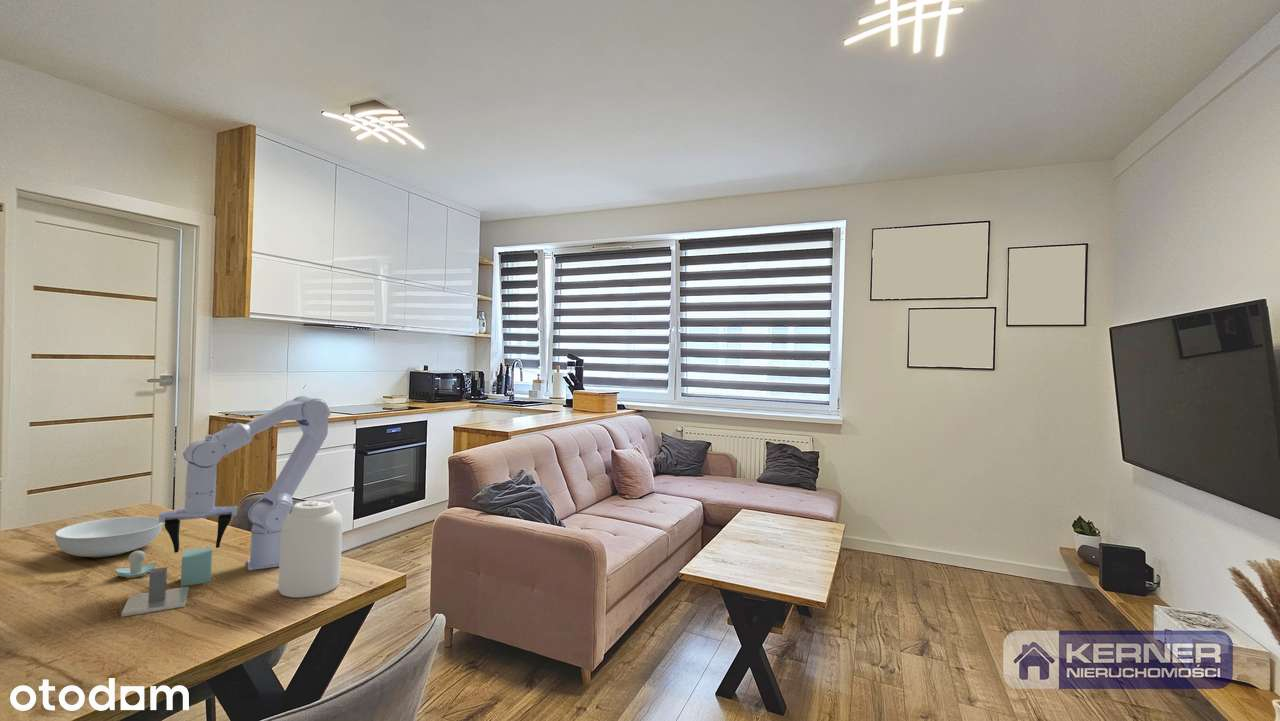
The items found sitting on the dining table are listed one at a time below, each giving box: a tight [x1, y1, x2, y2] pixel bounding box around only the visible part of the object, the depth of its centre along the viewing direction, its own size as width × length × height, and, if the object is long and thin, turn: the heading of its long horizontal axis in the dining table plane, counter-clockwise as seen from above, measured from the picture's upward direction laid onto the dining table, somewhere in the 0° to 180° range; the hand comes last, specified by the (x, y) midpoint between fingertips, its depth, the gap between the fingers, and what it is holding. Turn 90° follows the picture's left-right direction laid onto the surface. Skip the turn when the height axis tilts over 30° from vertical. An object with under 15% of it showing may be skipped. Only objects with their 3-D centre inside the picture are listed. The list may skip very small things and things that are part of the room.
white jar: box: [277, 499, 344, 598], centre depth 132 cm, size 12×12×20 cm
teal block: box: [180, 547, 214, 587], centre depth 134 cm, size 5×5×7 cm
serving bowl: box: [54, 516, 164, 558], centre depth 150 cm, size 21×21×7 cm
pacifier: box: [115, 550, 158, 579], centre depth 136 cm, size 7×6×6 cm
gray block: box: [120, 566, 190, 618], centre depth 121 cm, size 10×10×7 cm
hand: (197, 548), depth 134 cm, fingers open, 7 cm apart
